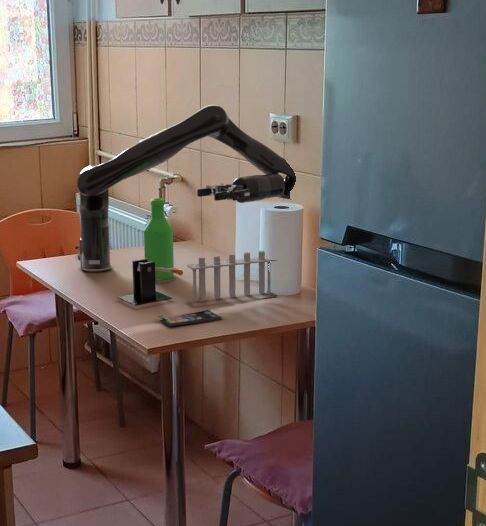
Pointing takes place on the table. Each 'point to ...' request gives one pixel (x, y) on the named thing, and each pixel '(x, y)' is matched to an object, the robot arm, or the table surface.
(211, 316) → the smartphone
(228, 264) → the test tube rack
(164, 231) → the bottle
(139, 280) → the bracket
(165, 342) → the table surface
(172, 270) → the lever
